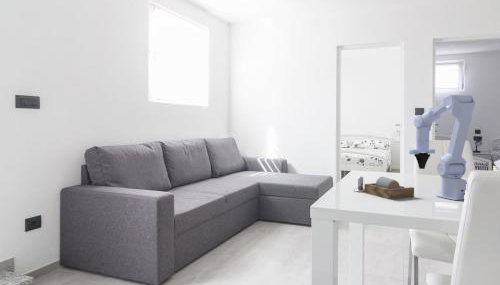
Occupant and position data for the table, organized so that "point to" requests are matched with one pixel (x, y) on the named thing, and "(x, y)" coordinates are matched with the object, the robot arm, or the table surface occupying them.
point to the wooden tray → (388, 191)
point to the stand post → (360, 185)
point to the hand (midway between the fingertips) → (421, 168)
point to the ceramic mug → (387, 183)
